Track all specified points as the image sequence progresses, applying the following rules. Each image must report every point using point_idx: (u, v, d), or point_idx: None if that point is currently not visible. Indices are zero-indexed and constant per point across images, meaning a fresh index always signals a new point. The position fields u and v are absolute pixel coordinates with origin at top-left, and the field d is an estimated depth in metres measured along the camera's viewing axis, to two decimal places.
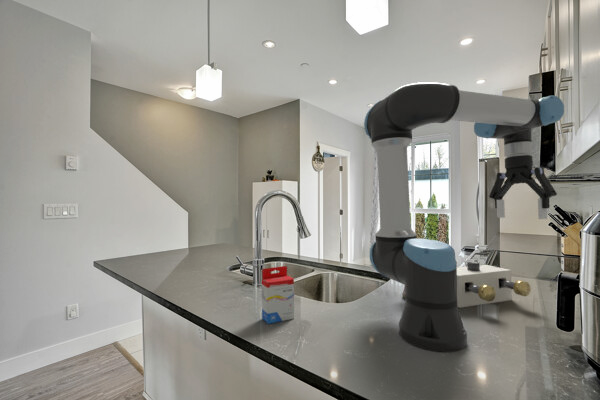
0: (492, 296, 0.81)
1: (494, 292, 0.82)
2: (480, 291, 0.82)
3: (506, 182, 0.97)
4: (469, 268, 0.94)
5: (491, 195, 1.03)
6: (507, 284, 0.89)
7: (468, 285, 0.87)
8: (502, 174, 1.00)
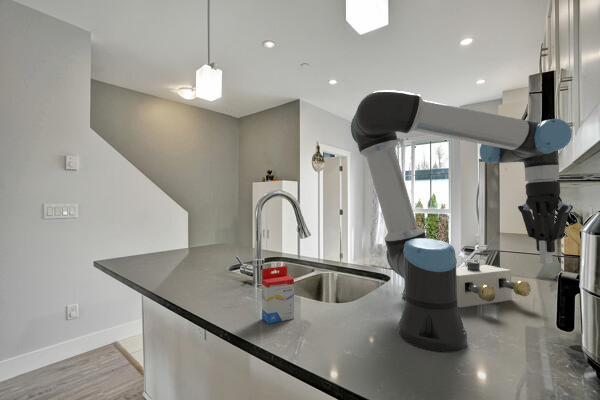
0: (492, 296, 0.81)
1: (494, 292, 0.82)
2: (480, 291, 0.82)
3: (535, 213, 0.81)
4: (469, 268, 0.94)
5: (530, 233, 0.82)
6: (507, 284, 0.89)
7: (468, 285, 0.87)
8: (524, 206, 0.85)
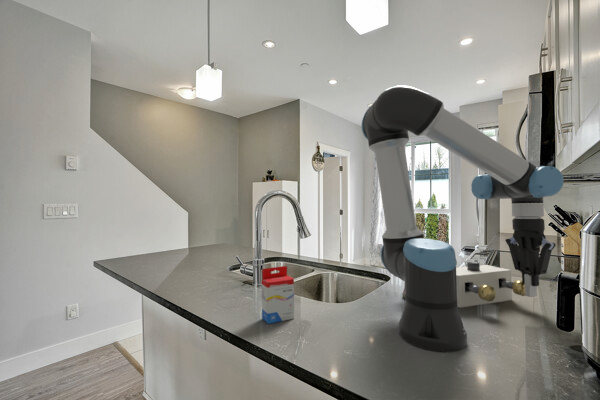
0: (492, 296, 0.81)
1: (494, 292, 0.82)
2: (480, 291, 0.82)
3: (520, 248, 0.84)
4: (469, 268, 0.94)
5: (516, 266, 0.86)
6: (506, 284, 0.90)
7: (468, 285, 0.87)
8: (511, 239, 0.88)
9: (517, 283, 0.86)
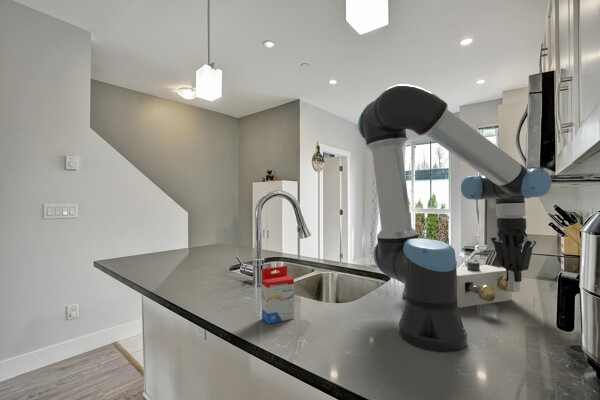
0: (492, 296, 0.81)
1: (494, 292, 0.82)
2: (480, 291, 0.82)
3: (504, 246, 0.89)
4: (469, 268, 0.94)
5: (501, 263, 0.91)
6: None
7: (468, 285, 0.87)
8: (496, 238, 0.93)
9: (502, 279, 0.90)
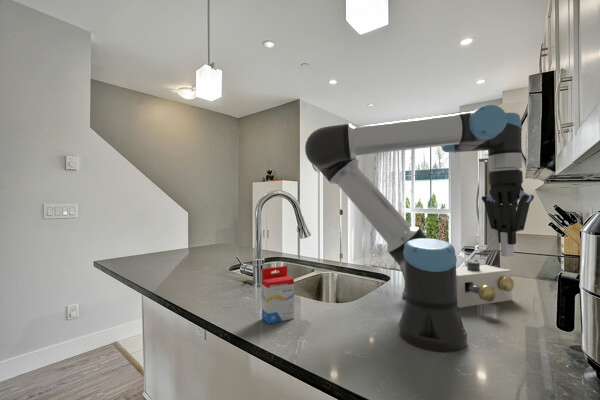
0: (492, 296, 0.81)
1: (494, 292, 0.82)
2: (480, 291, 0.82)
3: (497, 204, 0.77)
4: (469, 268, 0.94)
5: (492, 225, 0.79)
6: None
7: (468, 285, 0.87)
8: (487, 196, 0.81)
9: (502, 279, 0.90)
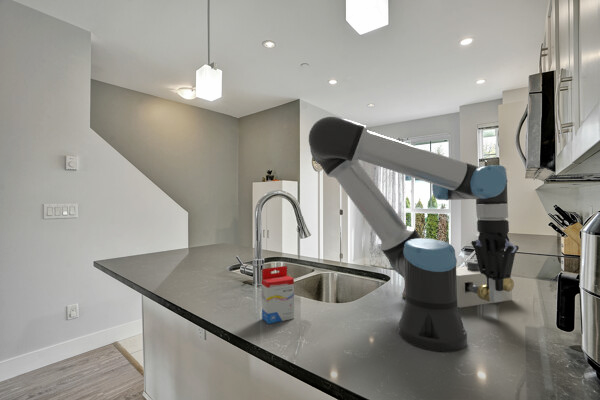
0: None
1: None
2: (479, 291, 0.82)
3: (485, 251, 0.81)
4: (469, 268, 0.94)
5: (481, 270, 0.82)
6: None
7: (467, 285, 0.88)
8: (477, 241, 0.85)
9: None
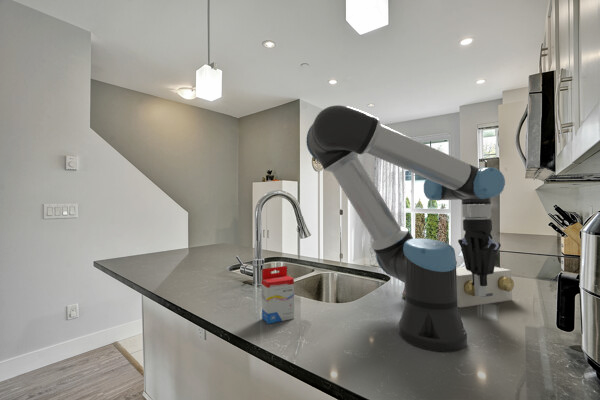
0: None
1: None
2: (465, 286, 0.87)
3: (470, 248, 0.85)
4: None
5: (467, 266, 0.87)
6: None
7: None
8: (463, 240, 0.89)
9: (502, 279, 0.90)
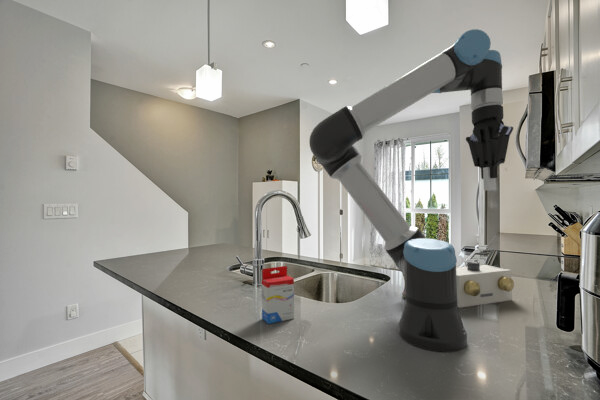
0: (477, 291, 0.86)
1: (479, 287, 0.86)
2: (466, 286, 0.87)
3: (479, 141, 0.80)
4: (469, 268, 0.94)
5: (475, 162, 0.81)
6: None
7: None
8: (471, 136, 0.84)
9: (502, 279, 0.90)
